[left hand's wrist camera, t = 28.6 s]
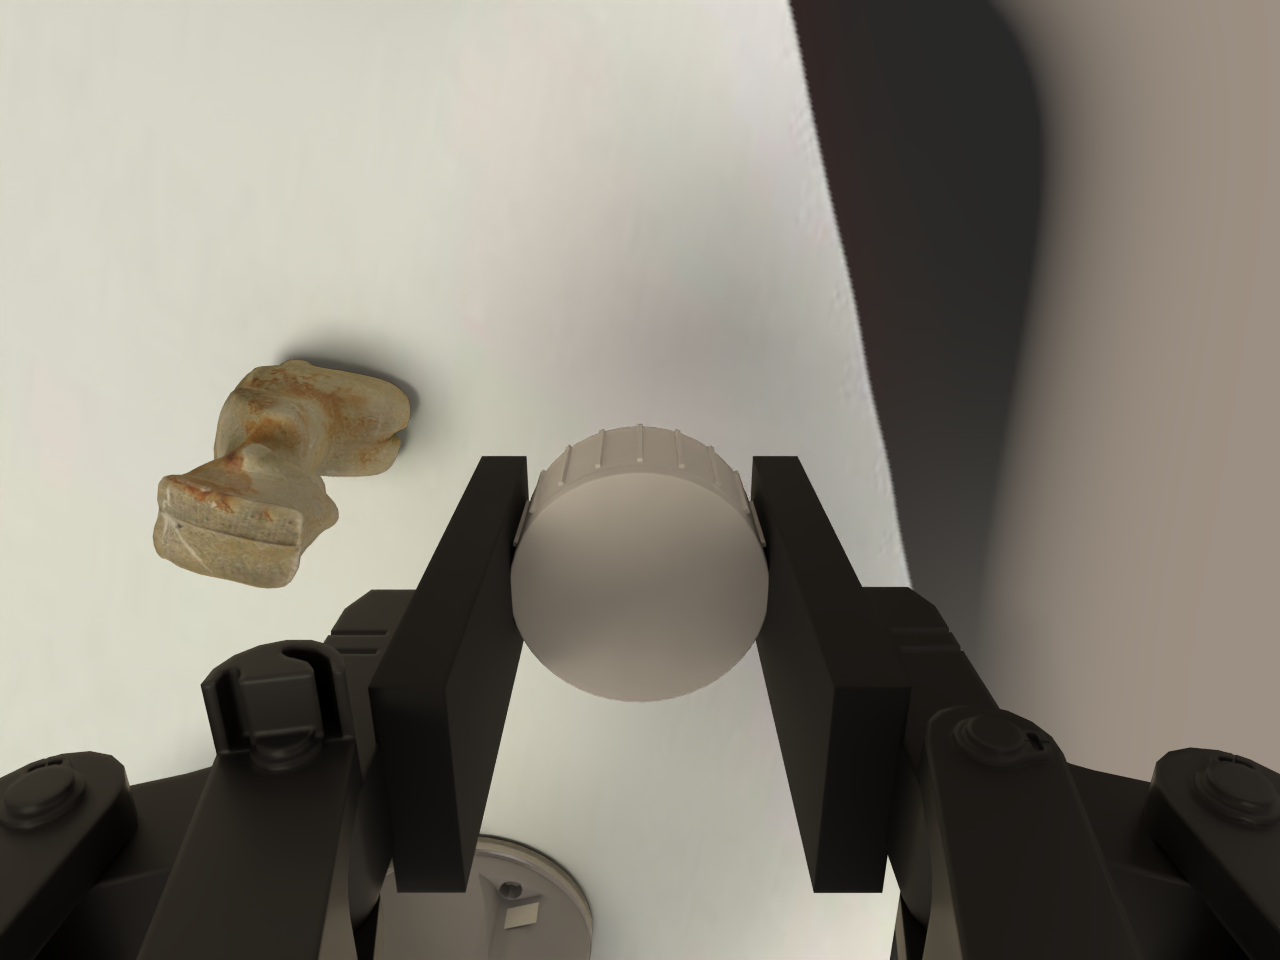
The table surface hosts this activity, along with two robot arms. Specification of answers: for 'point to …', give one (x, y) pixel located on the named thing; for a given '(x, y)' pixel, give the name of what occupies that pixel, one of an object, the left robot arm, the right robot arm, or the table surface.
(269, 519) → the sculpture
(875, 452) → the table surface
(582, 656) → the cap
